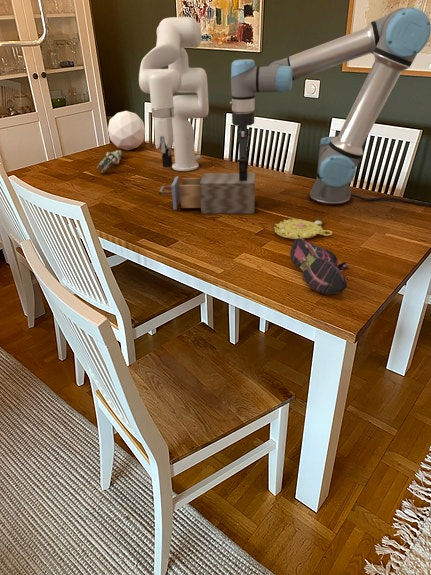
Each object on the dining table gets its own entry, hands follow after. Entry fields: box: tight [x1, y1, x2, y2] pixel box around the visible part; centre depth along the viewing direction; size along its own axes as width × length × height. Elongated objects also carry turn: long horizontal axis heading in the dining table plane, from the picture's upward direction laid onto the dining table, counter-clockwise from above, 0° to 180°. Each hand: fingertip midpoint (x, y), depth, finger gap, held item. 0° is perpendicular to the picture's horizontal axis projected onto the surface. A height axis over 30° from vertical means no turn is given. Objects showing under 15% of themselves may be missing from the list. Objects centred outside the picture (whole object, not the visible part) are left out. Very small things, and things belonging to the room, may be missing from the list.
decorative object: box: [273, 218, 333, 240], centre depth 145 cm, size 21×2×20 cm
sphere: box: [107, 110, 146, 151], centre depth 234 cm, size 19×20×20 cm
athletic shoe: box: [289, 238, 350, 295], centre depth 119 cm, size 11×22×12 cm
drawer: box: [158, 175, 202, 211], centre depth 164 cm, size 24×10×9 cm, turn 86°
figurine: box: [96, 150, 123, 174], centre depth 213 cm, size 7×8×30 cm
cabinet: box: [200, 172, 256, 214], centre depth 163 cm, size 20×11×11 cm, turn 85°
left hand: (167, 166), depth 159 cm, fingers closed
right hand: (243, 174), depth 159 cm, fingers open, 13 cm apart
